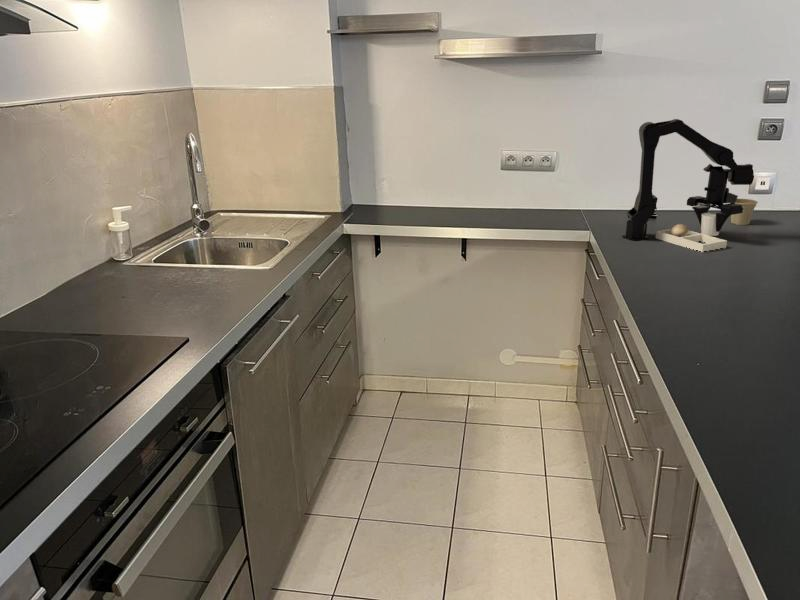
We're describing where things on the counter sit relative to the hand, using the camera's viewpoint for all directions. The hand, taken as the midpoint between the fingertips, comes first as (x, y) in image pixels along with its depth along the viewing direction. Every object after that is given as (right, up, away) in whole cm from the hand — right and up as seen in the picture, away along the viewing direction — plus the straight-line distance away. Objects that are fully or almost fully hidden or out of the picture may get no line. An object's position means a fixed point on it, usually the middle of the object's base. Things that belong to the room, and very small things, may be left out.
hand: (710, 229), depth 214 cm
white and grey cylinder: (0, -2, +1) cm, 2 cm away
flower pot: (+21, +4, +19) cm, 29 cm away
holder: (-9, -5, -3) cm, 11 cm away
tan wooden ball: (-11, -4, +1) cm, 11 cm away
